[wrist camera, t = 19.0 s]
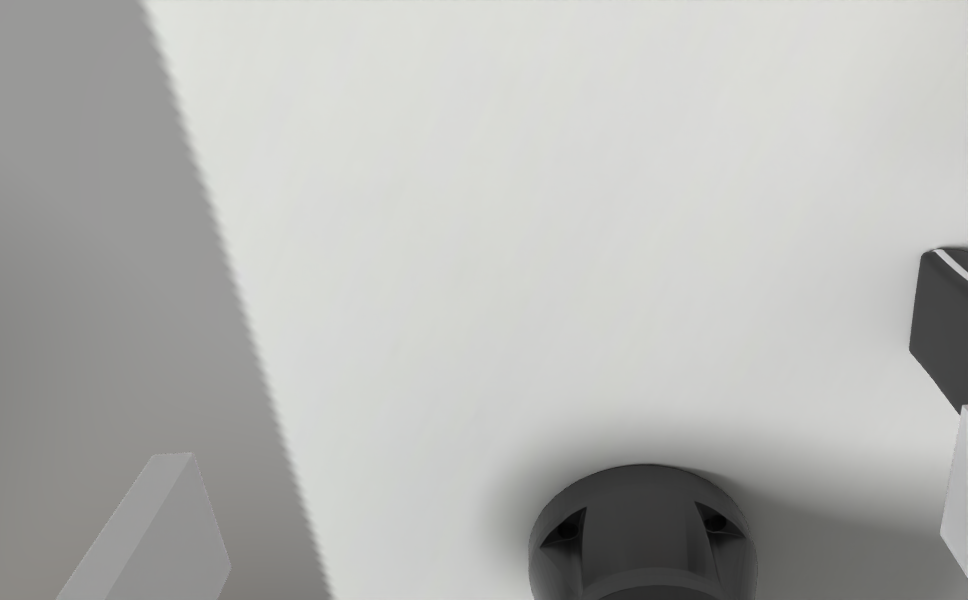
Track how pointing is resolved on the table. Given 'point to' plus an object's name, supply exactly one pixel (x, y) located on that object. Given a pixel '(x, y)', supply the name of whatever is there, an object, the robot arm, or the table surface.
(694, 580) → the robot arm
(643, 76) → the table surface
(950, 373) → the battery charger
